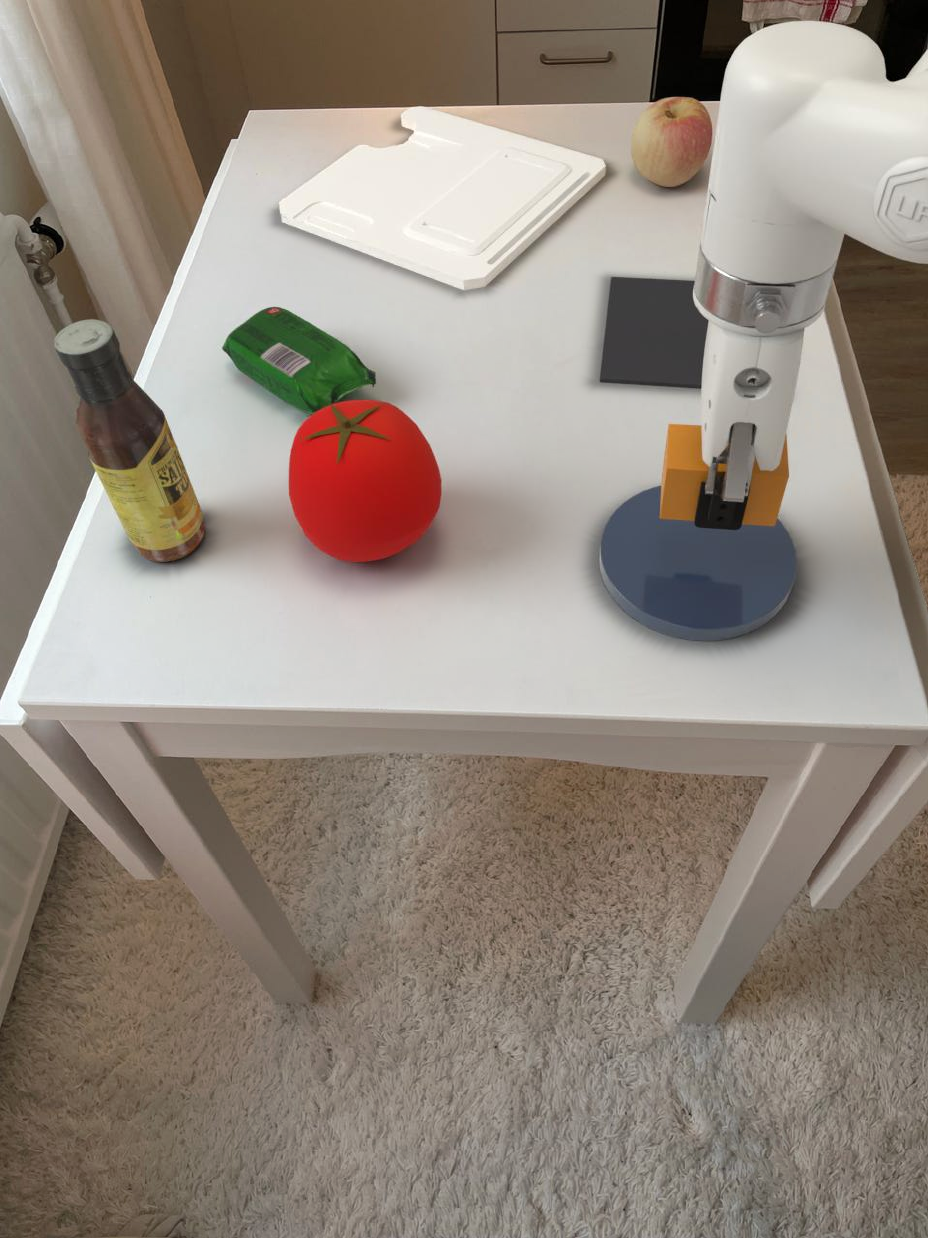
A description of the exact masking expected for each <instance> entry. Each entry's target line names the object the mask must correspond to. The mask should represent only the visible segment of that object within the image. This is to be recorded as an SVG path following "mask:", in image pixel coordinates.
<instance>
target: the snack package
mask: <svg viewBox="0 0 928 1238" xmlns="http://www.w3.org/2000/svg"><path fill="white" fill-rule="evenodd" d="M221 350H222V351H223V352H224V353H226V354H227V355H228V357H229V359H230V360H231V361H232V362H233V363H234V365H235V367H236V368H237V370H238V371H239V372H241V373H242V374H244V375H245V376H246V377H248V378H250V379H251V380H253V381H254V382H256V383H257V384H260V385H261V386H263V388H265V389H266V390H267V391H269V392H270V393H271V394H273V395H274V396H276V397H278V398H279V399H281V400H282V401H283V402H285V403H287V404H288V405H290V406H292V407H294V408H295V409H297V410H299V411H301V412H303V413H305V414H307V415H313V414H314V413H315V412H317V411H319V410H321V409H322V408H324V407H327V406H329V405H330V404H329V402H330V403H331V404H335V403H339V401H340V400H341V399H342V398H343V397H345V396H346V395H348V394H350V393H352V392H354V391H356V390H358V389H360V388H363V387H365V386H367V385H371V386H372V388H374V387H375V385H376V384H377V378H376V371H374V370H371V369H369V368H368V367H367V366H365V364H364V363H363V362H362V360H361V359H360V358H359V356H358V355H357V354H356V353H355V352H354V351H353V350H352V349H351V348H350V347H349V346H347V344H345V343H343V342H342V341H340V340H339V339H337V338H336V337H334V336H332V335H331V334H329V333H328V332H326V331H324V330H323V329H320V328H319V327H317V326H316V325H314V324H312V323H311V322H309V321H308V320H306V319H304V318H302V317H301V316H299V315H297V314H295V313H294V312H292V311H290V310H288V309H286V308H283V307H280V306H269V307H266V308H264V309H261V310H260V311H258V312H255V314H253V315H252V316H250V317H249V318H248V319H247V320H245V321H244V322H243V323H242V324H240V325H238V326H237V327H236V328H234V330H232V331H231V332H230V333H229V334H228V335H227V337H226V339H225V342H224V343H223V345H222V347H221Z"/></svg>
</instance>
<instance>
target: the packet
mask: <svg viewBox="0 0 928 1238" xmlns="http://www.w3.org/2000/svg"><path fill="white" fill-rule="evenodd" d="M667 425H668V426H667V431H666V441H665V448H664V455H663V463H662V471H661V481H660V482H661V483H660V484H661V485H660V486H661V502H660V519H671V520H686V521H695V514H696V508H697V503H698V497H699V492H700V486H701V482H706V477H707V470H708V465H707V464H706V463H705V462H704V461H703V460H702V432H701V424H700V425H698V424H681V423H669V424H667ZM787 436H788V435H787V432H786V436H785V441H784V446H783V451H782V455H781V460H780V464H779V466H778V467H777V468H776V469H774V470H773V471H769V470H760V468H759V466H758V463H757V460H756V456H755V461H754V465H753V470H752V476H751V481H750V492H749V497H748V501H747V505H746V509H745V513H744V517H743V521H742V524H746V525H761V526H775V524H776V521H777V518H778V517H779V513H780V510H781V507H782V503H783V499H784V496H785V492H786V488H787V485H788V482H789V477H790V467H789V453H788V452H789V449H788V437H787ZM726 448H728V446H727V447H726ZM725 471H726V464H720V463H718V469H717V476H716V477H718V476H720V477H725Z"/></svg>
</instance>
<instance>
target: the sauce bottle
mask: <svg viewBox="0 0 928 1238" xmlns="http://www.w3.org/2000/svg"><path fill="white" fill-rule="evenodd" d="M53 343H54V349H55V352H56V353H57V356H58V358H59V360H60V362H61V363H62V364H63V366H64V367H65V368H67V371H68V373H69V375H70V377H71V379H72V382H73V383H74V386H75V387H74V388H75V391H76V393H77V394H78V396H79V403H78V407H77V408H76V417H75V418H76V419H75V420H76V421H75V423H76V426H77V429H78V430H77V431H78V434H79V436H80V438H81V440H82V442H83V444H84V445H85V447H86V449H87V454H88V457H89V461H90V462H91V464H92V466H93V469H94V470H95V473H96V474H97V476H98V479H99V481H100V482H101V484H102V487H103V489H104V491H105V493H106V495H107V498H108V499H109V502H110V504H111V505H112V507H113V509H114V511H115V514H116V515H117V518H118V520H119V522H120V524H121V526H122V528H123V530H124V532H125V534H126V536H127V538H128V539H129V541H130V542H131V543H132V545H133V546H134V548H135V549H136V551H137V553H139V554H140V555H141V556H143V558H145V559H147V560H149V561H152V562H156V563H167V562H171V561H177V560H180V559H183V558H186V557H187V556H188V555H190V554H191V553H192V552H193V551H195V550H196V548H198V547H199V545H200V544H201V542H202V540H203V538H204V536H205V530H206V526H205V521H204V518H203V510H202V508H201V505H200V503H199V499H198V498H197V495H196V493H195V490H194V486H193V485H192V481H191V479H190V477H189V475H188V474H189V473H188V472H187V471H188V470H187V468H186V466H185V464H184V461H183V459H182V455H181V453H180V451H179V448H178V445H177V444H176V441H175V438H174V436H173V433H172V431H171V427H170V425H169V422H168V420H167V418H166V415H165V413H164V411H163V410H162V409H161V408H160V407H159V405H158V404H157V403H156V402H155V401H154V400H153V399H152V398H151V397H150V395H148V394H147V393H146V392H145V390H144V389H143V388H142V387H141V386H140V385H139V384H138V383H137V382H136V381H135V379H133V376H132V374H131V372H130V371H129V370H128V368H127V365H126V363H125V360H124V358H123V355H122V353H121V351H120V346H121V344H120V341H119V339H118V337H117V334H116V333H115V330H114V328H113V327H112V326H111V324H109V323H108V322H106V321H103V320H101V319H94V318H92V319H91V318H90V319H84V320H79V321H75V322H73V323H71V324H69V325H67V326H66V327H64V328H62V329H61V330H59V332H58V333H57V335H56V336H55V337H54V341H53Z"/></svg>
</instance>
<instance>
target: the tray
mask: <svg viewBox="0 0 928 1238" xmlns="http://www.w3.org/2000/svg"><path fill="white" fill-rule="evenodd" d="M400 122H401V127H403V128H405V129H407V130H412V131H413V133H412V134H411V135H410V136H408V140H406V141H404V142H403V143H399V144H391V145H390V146H386V147H374V146H371V145H367V144H358V145H356V146H354V147H353V148H352V149H350V150H349V151H348V152H346V153H345V154H343V155H342V156H341V157H339V158H338V159H336V160H335V161H333V162H332V163H331V164H329V165H328V166H327V167H326V168H324V169H323V170H321V171H319V173H317V174H316V175H314V176H313V177H312V178H310V179H309V180H307V181H306V182H305V183H303V184H301V186H299V187H298V188H296V189H295V190H294V191H292V192H291V193H289V194H288V195H286V196H285V197H284V198H282V199H281V200H280V201H279V202H278V208H279V214H280V217H281V218H280V219H281V223H283V224H286V225H288V226H290V227H294V228H297V229H298V230H302V231H305V232H307V233H310V234H312V235H315V236H318V237H320V238H324V239H326V240H328V241H331V242H333V243H336V244H339V245H342V246H345V247H347V248H349V249H352V250H356V251H357V252H361V253H363V254H366V255H369V256H371V257H373V258H376V259H379V260H382V261H385V262H387V263H390V264H392V265H395V266H398V267H401V268H403V269H405V270H409V271H412V272H414V273H417V274H419V275H421V276H425V277H427V278H430V279H433V280H435V281H437V282H441V283H442V284H443V283H444V284H446V285H449V286H451V287H453V288H456V289H460V290H461V291H468V290H474V289H483V288H486V287H487V286H488V285H489V284H490V283H491V282H493V280H494V279H495V278H496V277H497V276H498V275H499V274H501V273H502V272H503V271H504V270H505V269H506V268H507V267H509V265H511V263H513V261H514V260H516V259H517V258H518V257H519V256H520V255H521V254H522V253H523V252H524V251H526V250H527V249H528V248H529V247H530V246H531V245H532V244H533V243H534V242H535V241H537V240H538V238H540V237H541V235H543V234H544V233H545V232H546V231H547V230H548V229H549V228H550V227H552V226H553V225H554V224H555V223H556V222H557V221H558V220H559V219H560V218H561V217H562V216H564V214H566V212H567V211H569V210H570V209H571V208H572V207H573V206H574V205H575V204H576V203H577V202H578V201H580V200H581V198H583V197H584V196H585V195H586V194H587V193H588V192H589V191H591V190H592V188H594V187H595V186H596V185H597V184H598V183H599V182H600V181H601V180H602V179H603V178H604V177H606V172H607V171H606V170H607V164H606V163H605V161H604V160H603V158H601V157H599V156H598V157H597V156H595V155H591V154H587V153H583V152H581V151H577V150H575V149H574V150H573V149H571V148H567V147H564V146H560V145H556V144H554V143H549V142H547V141H542V140H540V139H536V138H532V137H531V136H530V137H529V136H527V135H522V134H519V133H516V132H512V131H510V130H505V129H502V128H498V127H495V126H491V125H488V124H486V123H483V122H478V121H476V120H471V119H468V118H464V117H462V116H458V115H454V114H451V113H448V112H444V111H440V110H437V109H434V108H431V107H428V106H424V105H423V106H422V105H421V106H420V105H419V106H411V107H408V108H407V109H406V110H404V111H402V113H400Z"/></svg>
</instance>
